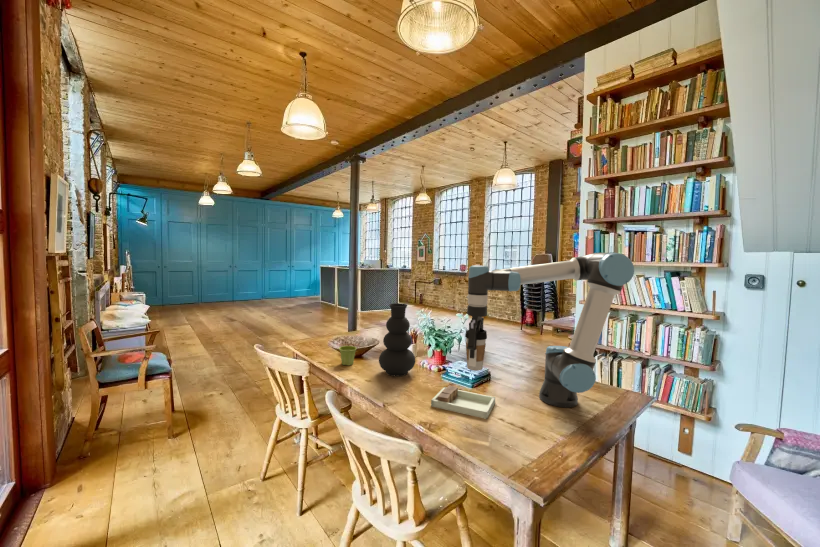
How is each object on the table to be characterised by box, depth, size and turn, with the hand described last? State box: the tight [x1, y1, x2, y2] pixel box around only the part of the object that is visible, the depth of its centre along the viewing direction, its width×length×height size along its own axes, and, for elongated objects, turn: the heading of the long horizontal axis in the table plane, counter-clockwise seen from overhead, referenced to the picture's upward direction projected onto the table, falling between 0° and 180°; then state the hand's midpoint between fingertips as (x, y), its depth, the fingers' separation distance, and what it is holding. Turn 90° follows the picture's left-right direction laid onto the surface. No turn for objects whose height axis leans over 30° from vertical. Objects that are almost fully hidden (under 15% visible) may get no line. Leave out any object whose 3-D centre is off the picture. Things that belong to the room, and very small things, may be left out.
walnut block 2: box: [441, 389, 454, 403], centre depth 143 cm, size 4×4×4 cm
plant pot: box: [338, 345, 357, 366], centre depth 188 cm, size 9×9×9 cm
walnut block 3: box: [446, 385, 459, 400], centre depth 146 cm, size 4×4×4 cm
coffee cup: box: [464, 329, 488, 372], centre depth 136 cm, size 8×8×15 cm
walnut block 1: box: [438, 393, 450, 403], centre depth 138 cm, size 4×4×4 cm
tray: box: [430, 386, 496, 420], centre depth 139 cm, size 22×15×4 cm
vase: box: [378, 302, 416, 377], centre depth 175 cm, size 18×18×35 cm
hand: (475, 362), depth 137 cm, fingers closed on coffee cup, 7 cm apart
